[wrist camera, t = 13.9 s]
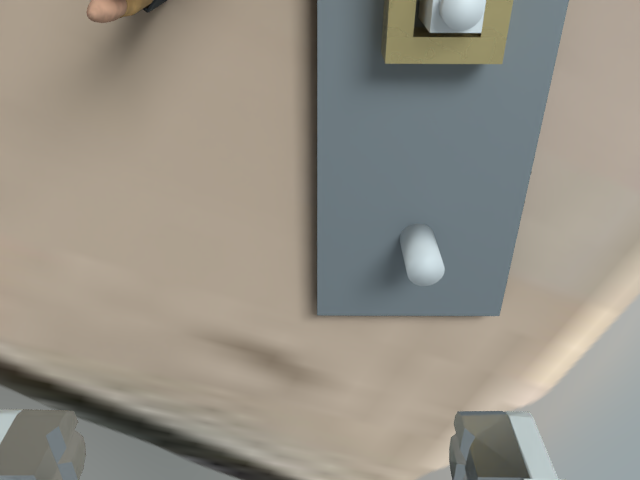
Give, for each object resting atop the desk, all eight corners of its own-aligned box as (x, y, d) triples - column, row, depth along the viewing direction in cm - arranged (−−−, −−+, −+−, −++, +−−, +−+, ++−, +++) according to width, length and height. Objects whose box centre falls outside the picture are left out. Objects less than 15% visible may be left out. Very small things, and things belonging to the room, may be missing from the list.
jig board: (317, 303, 45) (316, 361, 39) (317, -211, 28) (316, -236, 22) (494, 303, 45) (518, 362, 39) (602, -210, 28) (672, -234, 22)
